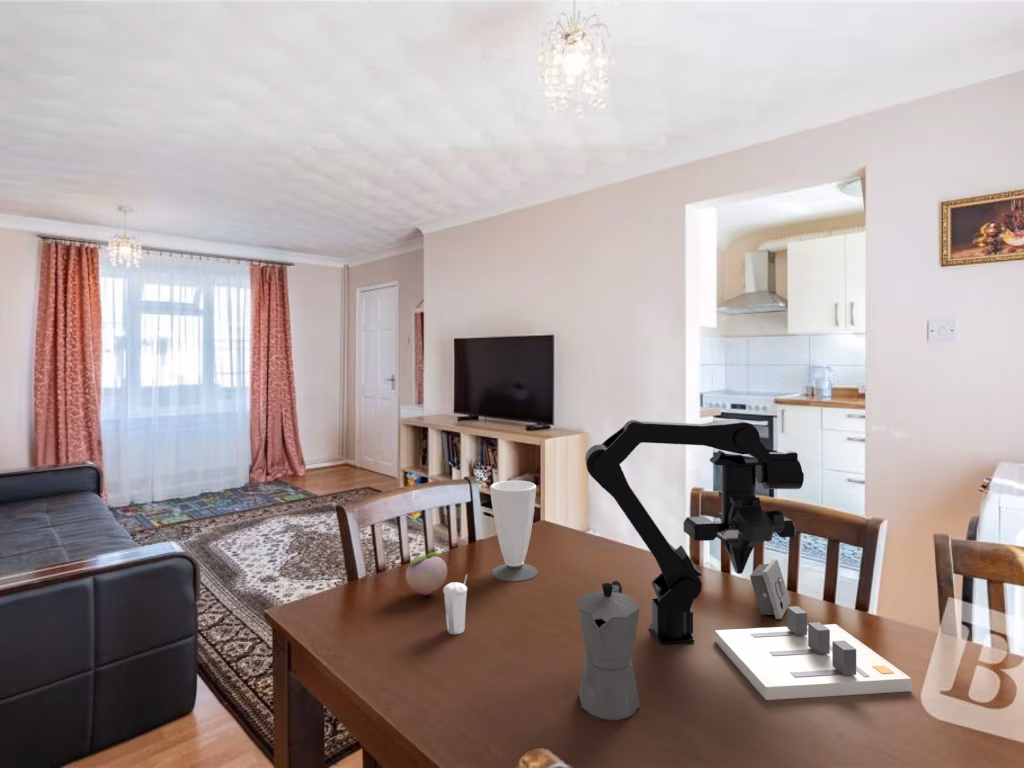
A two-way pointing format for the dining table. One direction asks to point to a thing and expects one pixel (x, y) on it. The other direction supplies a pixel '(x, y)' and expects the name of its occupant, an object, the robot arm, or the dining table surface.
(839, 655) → the block
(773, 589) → the electrical switch
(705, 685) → the dining table surface
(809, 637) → the handle
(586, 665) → the coffeepot
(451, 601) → the milkshake
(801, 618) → the far breaker handle
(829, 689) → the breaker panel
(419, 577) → the decorative fruit
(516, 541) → the cup
